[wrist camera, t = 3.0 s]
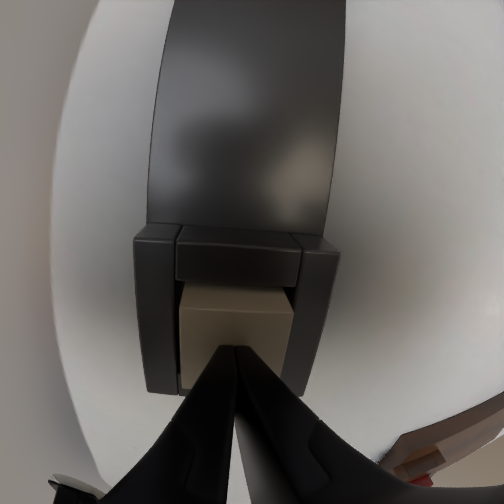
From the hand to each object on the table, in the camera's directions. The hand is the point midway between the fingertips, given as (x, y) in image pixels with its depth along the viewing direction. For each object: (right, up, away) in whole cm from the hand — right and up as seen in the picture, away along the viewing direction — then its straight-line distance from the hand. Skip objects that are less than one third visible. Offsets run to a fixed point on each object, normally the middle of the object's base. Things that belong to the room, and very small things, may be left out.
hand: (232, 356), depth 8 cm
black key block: (0, +8, +2) cm, 8 cm away
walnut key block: (+25, -18, +14) cm, 34 cm away
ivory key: (0, +1, +2) cm, 2 cm away
